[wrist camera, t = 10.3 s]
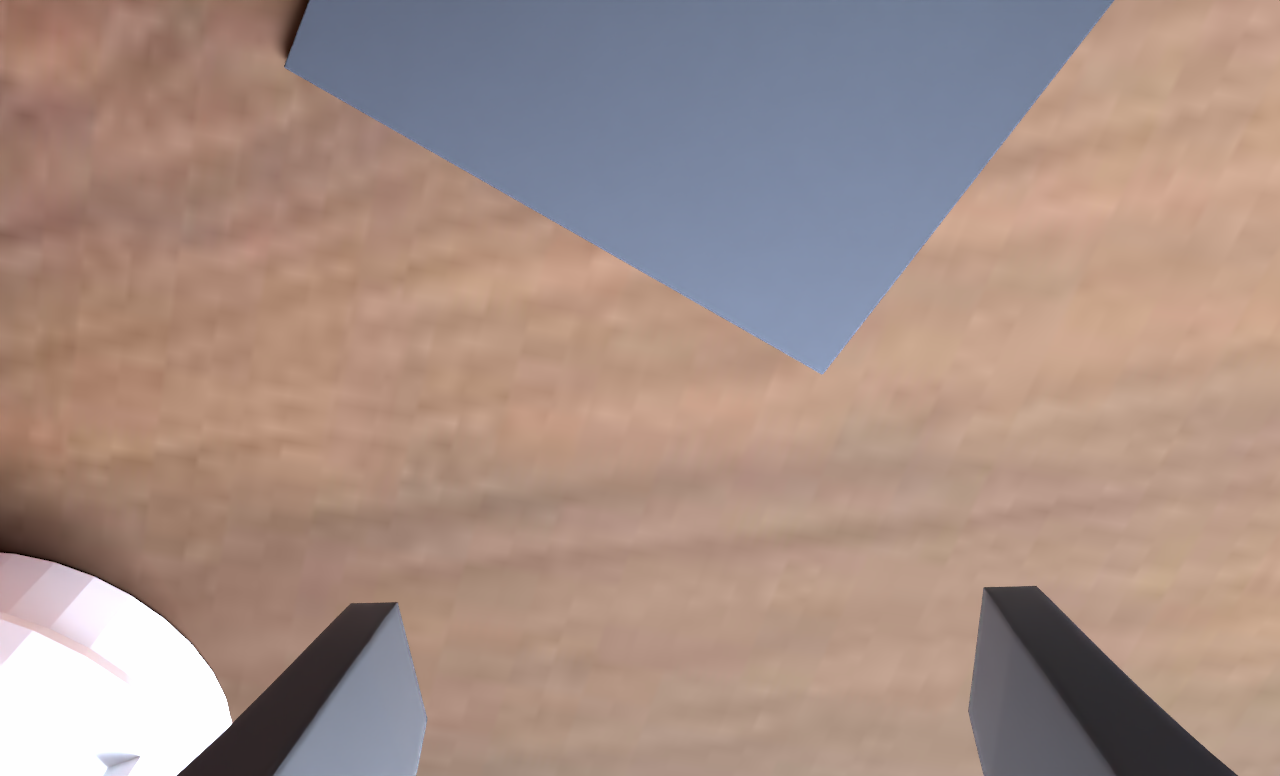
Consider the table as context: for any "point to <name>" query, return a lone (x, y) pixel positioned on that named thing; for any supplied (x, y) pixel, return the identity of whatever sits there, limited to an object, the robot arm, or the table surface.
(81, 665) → the flag stand
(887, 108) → the desk mat
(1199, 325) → the table surface
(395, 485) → the table surface
